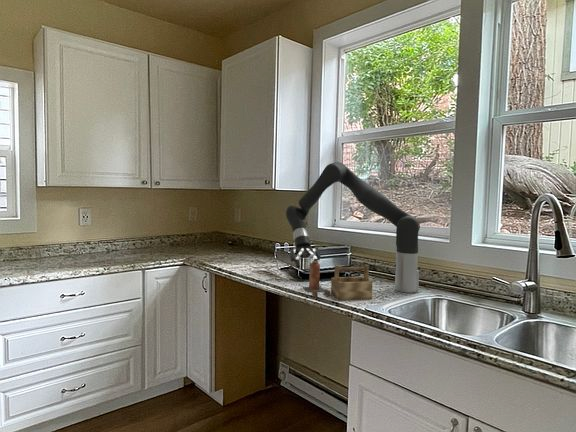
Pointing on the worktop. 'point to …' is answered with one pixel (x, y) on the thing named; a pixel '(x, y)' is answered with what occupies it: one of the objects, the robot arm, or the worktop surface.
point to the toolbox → (351, 284)
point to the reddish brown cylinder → (314, 275)
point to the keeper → (324, 293)
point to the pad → (316, 290)
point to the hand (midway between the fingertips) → (307, 267)
